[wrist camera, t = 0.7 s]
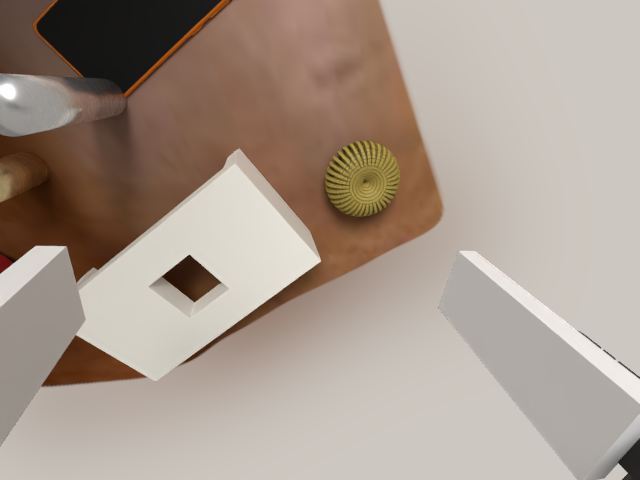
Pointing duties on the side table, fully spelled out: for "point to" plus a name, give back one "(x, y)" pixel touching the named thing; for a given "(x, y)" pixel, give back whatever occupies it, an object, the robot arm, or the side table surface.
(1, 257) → the beverage can
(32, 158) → the short brass pin
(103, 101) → the tall steel pin
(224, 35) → the side table surface
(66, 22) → the smartphone
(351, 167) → the sculpture
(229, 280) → the white bench
